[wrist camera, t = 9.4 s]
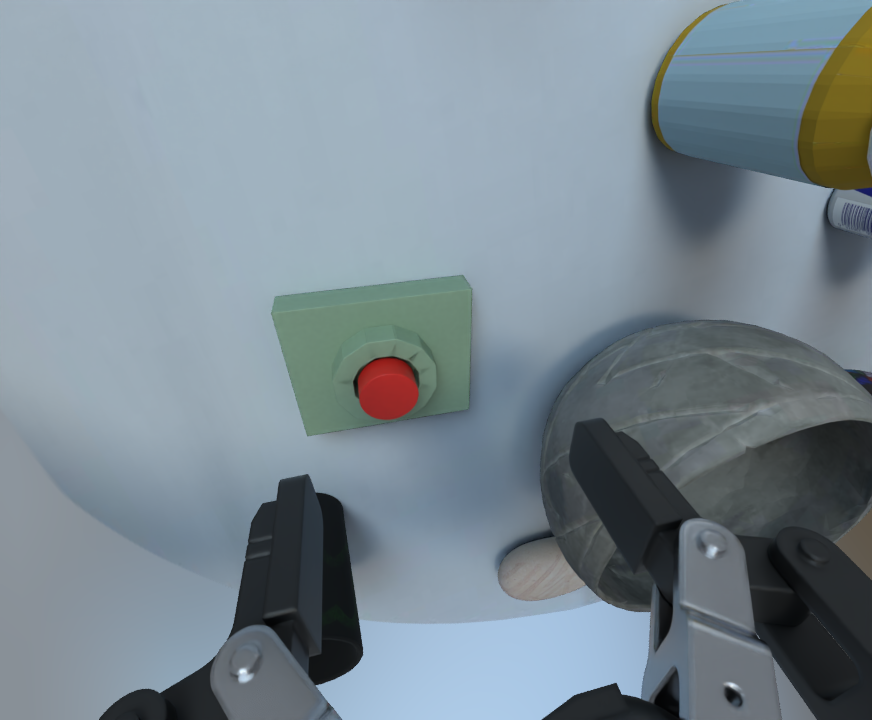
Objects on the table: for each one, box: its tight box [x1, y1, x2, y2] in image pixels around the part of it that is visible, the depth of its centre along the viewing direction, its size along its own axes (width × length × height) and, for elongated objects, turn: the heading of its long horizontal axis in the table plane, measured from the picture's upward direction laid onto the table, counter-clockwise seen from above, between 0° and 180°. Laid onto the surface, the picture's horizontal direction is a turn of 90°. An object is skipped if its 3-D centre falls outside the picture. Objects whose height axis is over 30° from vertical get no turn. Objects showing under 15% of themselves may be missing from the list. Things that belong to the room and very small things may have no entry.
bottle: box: [651, 0, 872, 190], centre depth 18 cm, size 7×7×15 cm
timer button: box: [358, 358, 419, 420], centre depth 26 cm, size 4×4×2 cm
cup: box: [308, 493, 363, 685], centre depth 33 cm, size 8×8×12 cm
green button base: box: [271, 275, 472, 436], centre depth 28 cm, size 12×10×4 cm
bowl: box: [540, 320, 872, 612], centre depth 30 cm, size 21×21×15 cm
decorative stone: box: [498, 536, 586, 601], centre depth 48 cm, size 13×9×5 cm
